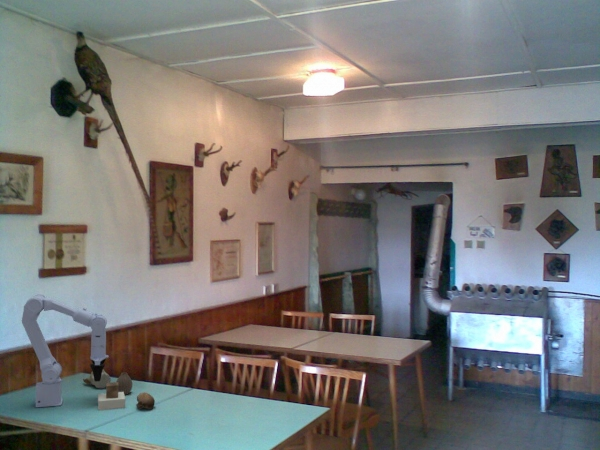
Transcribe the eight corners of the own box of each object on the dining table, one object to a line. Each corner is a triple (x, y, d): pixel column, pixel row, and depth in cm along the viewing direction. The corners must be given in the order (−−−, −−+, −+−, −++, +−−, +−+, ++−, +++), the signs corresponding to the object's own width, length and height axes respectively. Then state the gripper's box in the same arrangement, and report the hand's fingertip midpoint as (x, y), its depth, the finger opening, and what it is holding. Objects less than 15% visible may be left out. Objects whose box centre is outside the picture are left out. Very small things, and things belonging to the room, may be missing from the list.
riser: (98, 411, 227) (98, 401, 227) (97, 403, 236) (98, 393, 236) (125, 408, 230) (125, 398, 230) (123, 401, 240) (123, 391, 239)
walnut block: (106, 398, 230) (106, 385, 230) (106, 395, 234) (106, 382, 234) (118, 397, 231) (118, 385, 231) (118, 394, 236) (118, 382, 236)
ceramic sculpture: (92, 371, 251) (81, 366, 263) (92, 391, 250) (81, 385, 262) (116, 368, 257) (104, 363, 269) (116, 387, 257) (104, 382, 269)
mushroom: (128, 400, 229) (138, 387, 229) (141, 403, 236) (151, 390, 236) (138, 414, 225) (148, 401, 225) (151, 416, 231) (161, 403, 231)
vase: (129, 396, 245) (129, 375, 245) (113, 395, 245) (113, 375, 245) (134, 391, 252) (134, 371, 252) (118, 391, 252) (118, 370, 252)
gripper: (108, 348, 232) (107, 382, 232) (109, 341, 246) (108, 373, 246) (89, 349, 230) (88, 383, 230) (91, 342, 244) (90, 374, 244)
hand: (97, 378), depth 238 cm, fingers open, 7 cm apart
